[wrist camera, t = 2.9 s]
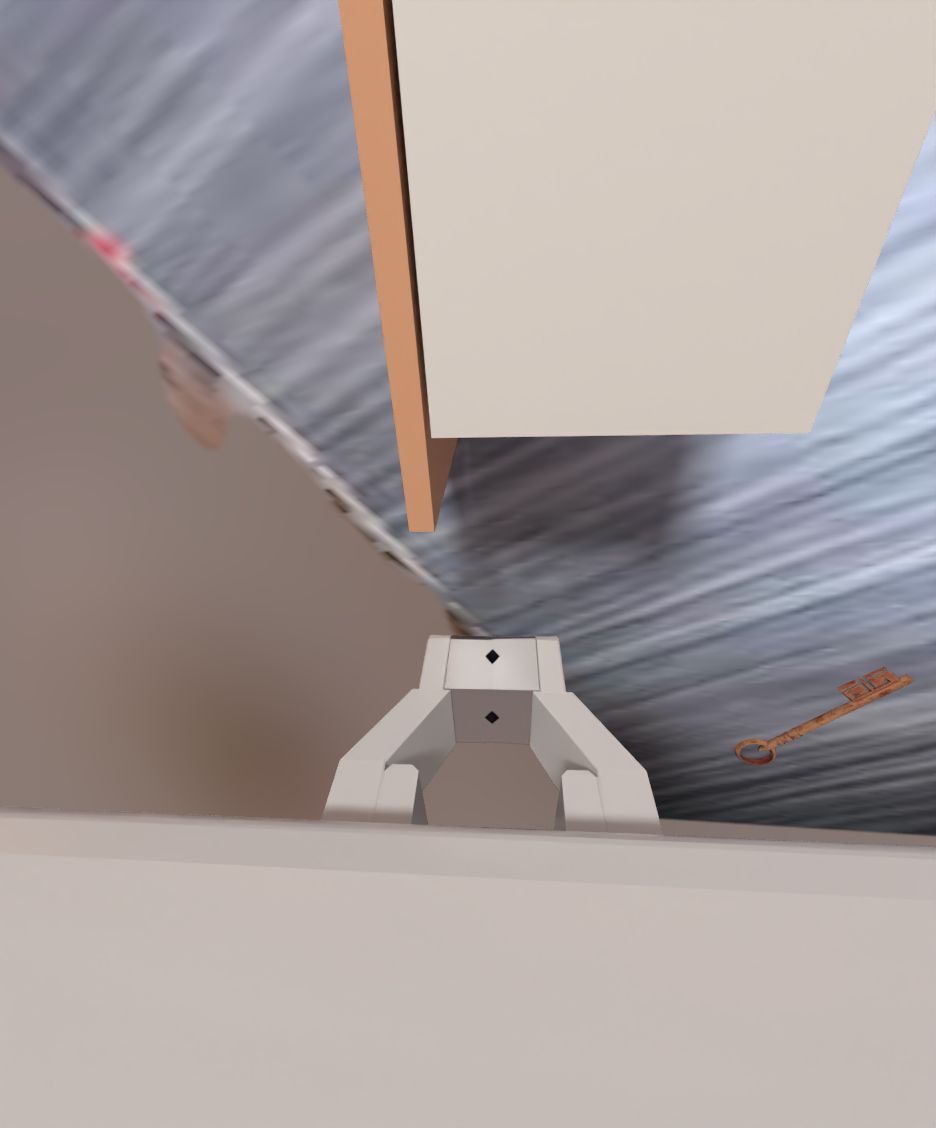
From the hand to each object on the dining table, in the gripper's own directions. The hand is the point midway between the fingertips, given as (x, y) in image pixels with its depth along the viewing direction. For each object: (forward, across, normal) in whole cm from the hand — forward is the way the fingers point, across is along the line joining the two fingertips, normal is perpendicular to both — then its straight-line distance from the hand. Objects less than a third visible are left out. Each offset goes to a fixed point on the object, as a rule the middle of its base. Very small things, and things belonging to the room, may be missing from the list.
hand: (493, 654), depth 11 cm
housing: (+19, -4, -9) cm, 21 cm away
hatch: (+19, +3, -7) cm, 20 cm away
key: (+20, -26, +27) cm, 43 cm away
